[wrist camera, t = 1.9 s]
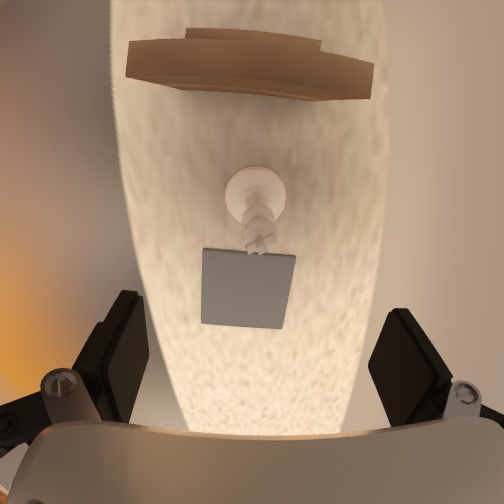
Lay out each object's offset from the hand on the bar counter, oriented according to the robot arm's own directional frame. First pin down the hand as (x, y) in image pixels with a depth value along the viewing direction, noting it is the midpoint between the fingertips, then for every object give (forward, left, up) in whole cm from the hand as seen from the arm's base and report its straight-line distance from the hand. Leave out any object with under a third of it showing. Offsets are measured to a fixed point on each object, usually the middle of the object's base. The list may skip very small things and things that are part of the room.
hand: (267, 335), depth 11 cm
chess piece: (-1, 0, -16) cm, 16 cm away
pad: (+8, 0, -16) cm, 18 cm away
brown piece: (-11, -2, -16) cm, 20 cm away
